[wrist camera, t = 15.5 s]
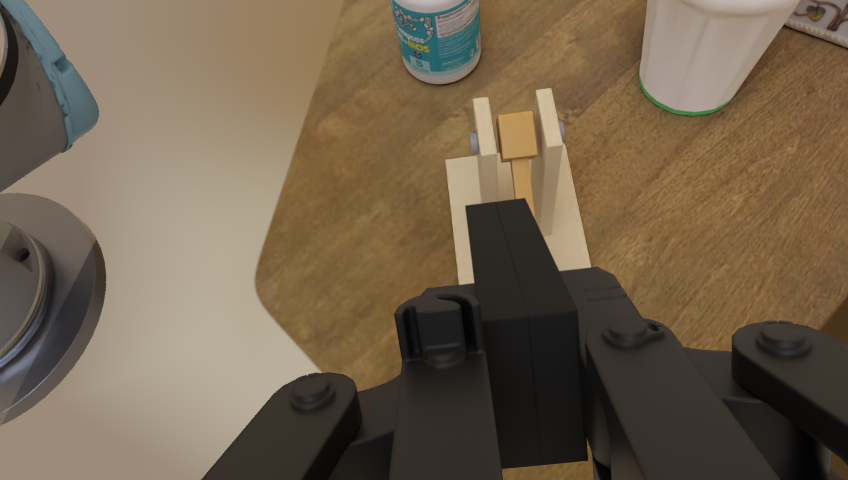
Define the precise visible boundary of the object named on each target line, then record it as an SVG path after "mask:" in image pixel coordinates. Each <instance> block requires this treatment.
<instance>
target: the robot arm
mask: <svg viewBox="0 0 848 480" xmlns="http://www.w3.org/2000/svg"><path fill="white" fill-rule="evenodd" d="M98 117H99V110H98V106H97V103H96V101H95V99H94V97H93V95H92V94H91V92H90V90H89V89H88V87H87V86H86V84H85V82H84V81H83V79H82V78H81V76H80V75H79V73H78V72H77V71H76V69H75V68H74V66H73V65H72V64H71V63H70V61H68V60H67V59H66V56H65V54H64V53H63V52H62V50H61V49H60V47H59V45H58V44H57V42H56V41H55V39H54V38H53V37H52V35H51V34H50V33H49V31H48V30H47V29H46V27H45V26H44V25H43V23H42V22H41V21H40V20H39V18H38V17H37V16H36V14H35V13H34V12H33V11H32V9H31V8H30V7H29V6H28V4H27V3H26V2H25V1H24V0H0V192H2V191H3V190H5V189H6V188H7V187H9V186H11V185H12V184H14V183H15V182H17V181H18V180H19V179H21V178H22V177H24V176H25V175H27V174H28V173H30V172H31V171H33V170H34V169H36V168H37V167H39V166H40V165H42V164H43V163H45V162H47V161H48V160H50V159H51V158H53V157H54V156H56V155H57V154H59V153H62V152H65V151H67V150H69V149H70V148H71V146H72V145H73V143H74V142H75V141H76V140H78V139H79V138H80V137H82V136H83V135H84V134H86V133H87V132H88V131H89V130H91V129H92V128H93V127H94V126H95V124H96V123H97V121H98ZM465 210H466V218H467V226H468V235H469V243H470V251H471V260H472V268H473V276H474V283H470V284H461V285H453V286H444V287H436V288H427V289H426V290H425V291H424V292H423V293H422V294H421V295H420V296H418V297H415V298H412V299H410V300H408V301H406V302H405V303H403V304H402V305H400V306H399V307H398V309H397V310H396V312H395V314H394V315H395V321H396V327H397V333H398V339H399V345H400V351H401V357H402V368H401V374H400V375H399V376H397V377H396V378H394V379H393V380H391V381H389V382H387V383H385V384H382V385H379V386H377V387H374V388H371V389H367V390H364V391H361V392H357V387H356V385H355V383H354V381H353V379H351V378H349V377H347V376H345V375H344V374H337V373H331V372H329V373H313V374H308V376H306V375H305V376H301V377H299V378H297V379H296V380H294V381H292V382H290V383H288V384H286V385H284V386H283V387H281V388H280V389H279V390H278V391H277V392H276V393H274V394H273V395H272V396H271V398H270V399H269V400H268V401H267V402H266V404H265V405H264V406H263V407H262V408H261V410H260V411H259V412H258V413H257V414H256V415H255V417H254V418H253V419H252V420H251V421H250V422H249V424H248V425H247V426H246V427H245V428H244V430H243V431H242V432H241V433H240V434H239V436H238V437H237V438H236V439H235V440H234V441H233V443H232V444H231V445H230V446H229V447H228V449H227V450H226V451H225V452H224V453H223V454H222V456H221V457H220V458H219V459H218V460H217V462H216V463H215V464H214V465H213V466H212V467H211V469H210V470H209V471H208V472H207V473H206V475H205V476H204V477H203V478H202V479H201V480H503V476H502V469H507V468H517V467H527V466H538V465H548V464H558V463H569V462H579V461H588V453H587V439H588V442H589V445H590V448H591V451H592V458H593V473H594V480H845V479H843V478H841V477H840V476H838V475H837V474H836V473H835V472H833V471H832V470H831V469H830V460H831V451H832V452H833V453H835V454H836V455H837V456H839V457H840V458H841V459H842V460H843V461H844V462H845V463H846V464H847V465H848V345H846V344H844V343H842V342H840V341H839V340H837V339H835V338H833V337H831V336H829V335H827V334H825V333H823V332H821V331H818V330H816V329H813V328H811V327H808V326H804V325H798V324H793V323H792V322H789V321H779V322H777V321H765V322H762V323H754V324H750V325H747V326H744V327H742V328H739V329H738V330H737V331H736V332H735V333H734V334H733V335H732V351H714V350H700V349H691V348H686V347H683V346H682V345H681V343H680V342H679V341H678V339H677V338H676V336H675V335H674V334H673V332H672V331H671V330H670V329H668V328H667V327H666V326H665V325H663V324H661V323H659V322H656V321H653V320H650V319H645V318H642V316H641V315H640V313H639V312H638V310H637V309H636V307H635V306H634V304H633V303H632V301H631V300H630V298H629V297H627V294H626V292H625V291H624V289H623V288H621V285H620V284H619V282H618V281H617V279H616V278H615V276H614V275H613V274H611V273H609V272H607V271H605V270H603V269H601V268H599V267H590V268H582V269H573V270H565V271H559V269H558V267H557V265H556V263H555V261H554V259H553V257H552V254H551V252H550V250H549V248H548V246H547V244H546V242H545V239H544V237H543V235H542V233H541V231H540V229H539V226H538V224H537V222H536V220H535V218H534V216H533V214H532V211H531V209H530V207H529V205H528V203H527V201H526V199H525V198H521V199H513V200H505V201H497V202H489V203H481V204H473V205H465ZM52 290H53V270H52V265H51V261H50V259H49V256H48V254H47V252H46V250H45V249H44V248H43V246H42V245H41V244H40V243H39V242H38V241H37V240H36V239H34V238H33V237H32V236H30V235H29V234H27V233H26V232H24V231H23V230H21V229H20V228H18V227H16V226H15V225H13V224H10V223H8V222H5V221H4V220H2V219H1V221H0V368H1V367H2V366H4V365H5V364H6V363H8V362H9V361H10V360H11V359H12V358H14V357H15V356H16V355H17V354H18V353H19V352H20V351H21V350H22V349H23V348H24V346H25V345H26V344H27V343H28V342H29V340H30V339H31V338H32V337H33V335H34V334H35V332H36V331H37V329H38V327H39V326H40V324H41V322H42V320H43V318H44V316H45V314H46V312H47V309H48V306H49V303H50V300H51V296H52ZM586 436H587V439H586Z"/></svg>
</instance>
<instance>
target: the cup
mask: <svg viewBox="0 0 848 480" xmlns="http://www.w3.org/2000/svg"><path fill="white" fill-rule="evenodd" d="M799 2H800V0H648V1H647V11H646V20H645V29H644V39H643V48H642V58H641V63H640V68H639V77H638V78H639V82H640V85H641V88H642V91H643V93H644V94H645V95H646V96H647V97H648V98H649V99H650V100H651V101H652V102H653V103H655V104H656V105H657V106H659V107H661V108H663V109H665V110H667V111H669V112H671V113H675V114H681V115H691V116H695V115H703V114H709V113H713V112H715V111H717V110H719V109H721V108H722V107H724V106H725V105H727V104H728V103H729V102H730V101H731V100H732V98H733V97H734V96H735V94H736V93H737V91H738V89H739V87H740V86H741V85H742V83H743V82H744V80H745V79H746V77H747V76H748V75H749V73H750V72H751V70H752V69H753V67H754V66H755V65H756V63H757V62H758V60H759V59H760V57H761V56H762V55H763V53H764V52H765V50H766V49H767V48H768V46H769V45H770V43H771V42H772V40H773V39H774V38H775V36H776V35H777V33H778V32H779V30H780V29H781V28H782V26H783V25H784V23H785V22H786V20H787V19H788V18H789V16H790V15H791V13H792V12H793V10H794V9H795V8H796V6H797V5H798V3H799Z"/></svg>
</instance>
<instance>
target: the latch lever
mask: <svg viewBox="0 0 848 480" xmlns="http://www.w3.org/2000/svg"><path fill="white" fill-rule="evenodd" d="M496 126H497V134H498V142H499V150H500V158H501V163H506V162H510V165H511V173H512V181H513V190H514V198H515V199H521V198H525V199H526V201H527V203H528V205H529V207H530V209H531V211H532V214H533V216H534V218H535V210H534V201H533V193H532V185H531V177H530V168H529V159H534V158H535V157H536V156H537V155H538V151H537V143H536V134H535V126H534V118H533V111H525V112H518V113H511V114H503V115H498V117H497V120H496ZM535 220H536V218H535Z"/></svg>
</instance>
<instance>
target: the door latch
mask: <svg viewBox="0 0 848 480" xmlns="http://www.w3.org/2000/svg"><path fill="white" fill-rule="evenodd" d="M473 108H474V121H475V132H472V133H469V140H470V148H471V154H477V156H470V157H462V158H454V159H447V160H445V162H446V171H447V180H448V189H449V199H450V208H451V217H452V226H453V235H454V244H455V253H456V262H457V271H458V280H459V285H461V284H470V283H474V276H473V268H472V260H471V251H470V243H469V235H468V226H467V218H466V210H465V205H473V204H481V203H489V202H497V201H505V200H513V199H515V198H514V190H513V181H512V173H511V165H510V162H506V163H501V158H500V153H497V150H496V144H495V137H494V131H493V124H492V118H491V111H490V105H489V98H488V97H482V98H475V99H473ZM534 126H535V134H536V143H537V151H538V155H537V156H536V157H535V158H534V159H529V168H530V177H531V185H532V193H533V201H534V210H535V218H536V222H537V224H538V226H539V229H540V231H541V233H542V235H543V237H544V239H545V242H546V244H547V246H548V248H549V250H550V252H551V254H552V257H553V259H554V261H555V263H556V265H557V267H558V269H559V271H565V270H573V269H582V268H590V267H591V263H590V259H589V254H588V249H587V245H586V240H585V235H584V231H583V226H582V221H581V216H580V212H579V207H578V202H577V198H576V193H575V188H574V183H573V179H572V174H571V169H570V165H569V160H568V155H567V151H566V146H565V144H563V142H564V141H565V129H564V124H563V121H558V118H557V113H556V109H555V104H554V99H553V94H552V90H551V88H547V89H540V90H536V93H535V110H534Z"/></svg>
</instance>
